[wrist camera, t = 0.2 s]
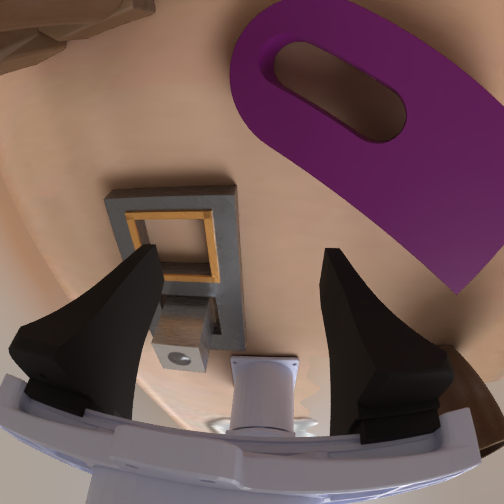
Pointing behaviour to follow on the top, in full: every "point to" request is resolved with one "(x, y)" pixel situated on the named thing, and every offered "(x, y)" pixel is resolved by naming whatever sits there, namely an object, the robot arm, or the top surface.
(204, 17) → the top surface
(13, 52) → the wooden block
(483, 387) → the plant pot
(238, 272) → the grey holder tray
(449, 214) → the mounting bracket
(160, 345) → the metal block with hole
